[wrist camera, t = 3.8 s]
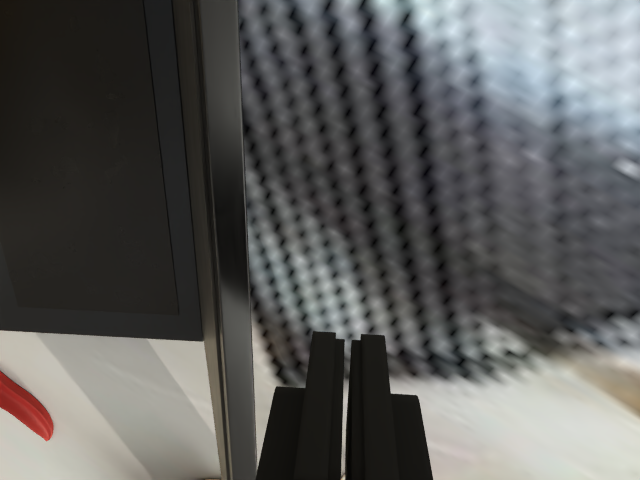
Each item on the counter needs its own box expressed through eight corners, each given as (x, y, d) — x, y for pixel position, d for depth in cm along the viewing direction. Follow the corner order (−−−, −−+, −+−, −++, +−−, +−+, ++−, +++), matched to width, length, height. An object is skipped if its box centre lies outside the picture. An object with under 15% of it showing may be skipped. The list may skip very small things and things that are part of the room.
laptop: (-39, 315, 40) (-57, 328, 38) (-187, -126, 27) (-224, -136, 26) (209, 328, 39) (203, 342, 37) (171, -121, 26) (159, -131, 25)
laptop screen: (242, 652, 19) (264, 644, 19) (150, -555, 7) (216, -533, 7) (203, 342, 37) (215, 340, 37) (159, -131, 25) (177, -128, 25)
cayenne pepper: (-41, 339, 41) (-59, 353, 39) (8, 334, 40) (-8, 348, 38) (17, 442, 45) (4, 459, 44) (62, 439, 45) (50, 455, 43)
